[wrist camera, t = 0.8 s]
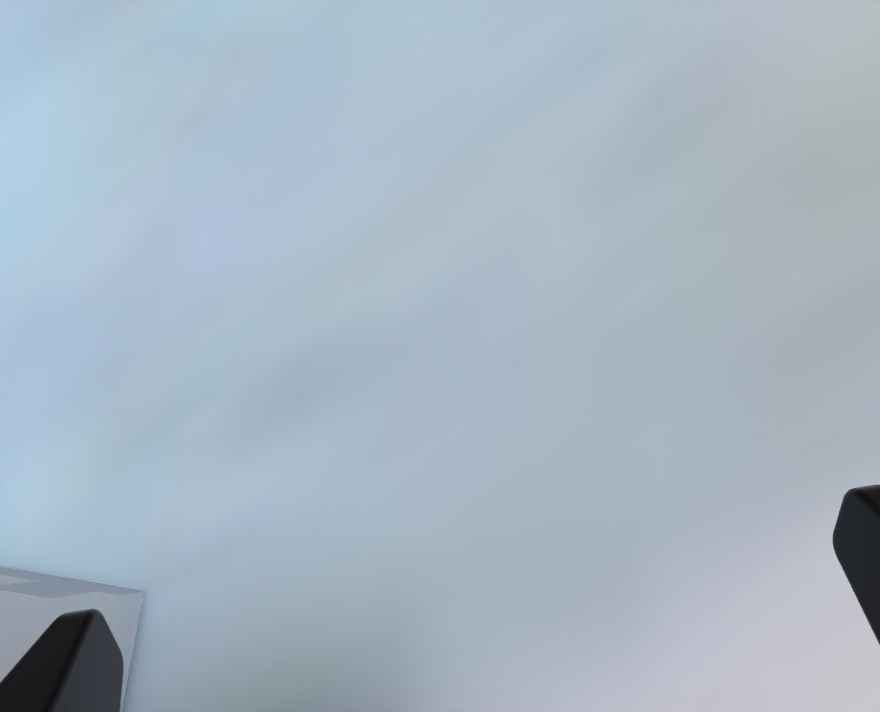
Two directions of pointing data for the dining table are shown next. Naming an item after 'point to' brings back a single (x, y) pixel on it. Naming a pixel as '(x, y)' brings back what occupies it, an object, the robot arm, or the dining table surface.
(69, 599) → the display stand
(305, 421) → the dining table surface
